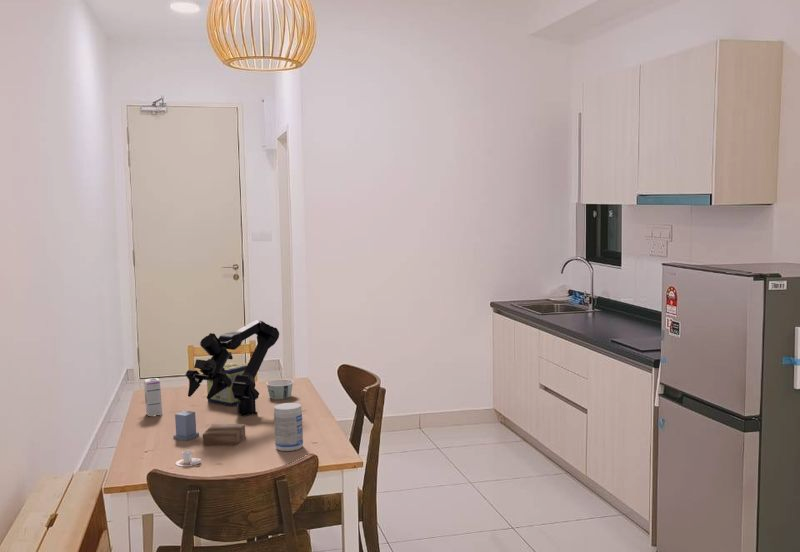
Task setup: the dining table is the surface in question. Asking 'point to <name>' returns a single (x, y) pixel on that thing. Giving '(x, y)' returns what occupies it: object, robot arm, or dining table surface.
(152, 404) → the syrup box
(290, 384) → the food container
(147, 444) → the dining table surface
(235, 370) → the protein box
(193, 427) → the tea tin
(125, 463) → the dining table surface
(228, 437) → the stack block
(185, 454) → the teacup and saucer
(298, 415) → the supplement tub
